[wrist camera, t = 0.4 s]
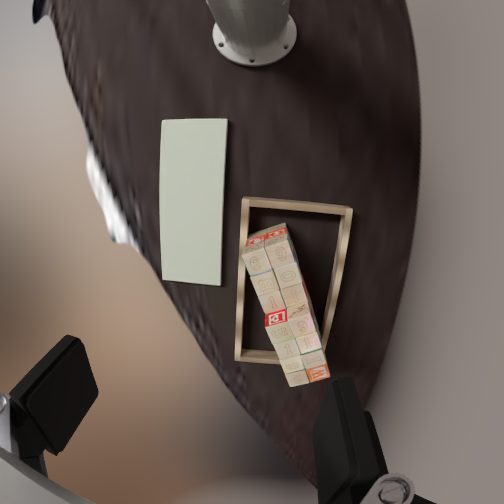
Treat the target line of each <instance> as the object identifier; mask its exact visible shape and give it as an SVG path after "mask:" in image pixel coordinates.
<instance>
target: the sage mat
mask: <svg viewBox="0 0 504 504" xmlns="http://www.w3.org/2000/svg"><path fill="white" fill-rule="evenodd" d="M227 129H228V119H176V120H162V130H161V150H160V240H161V261H162V277H163V280H171V281H180V282H189V283H199V284H209V285H219V286H220V285H221V269H222V233H223V206H224V183H225V164H226V146H227Z"/></svg>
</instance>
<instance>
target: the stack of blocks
mask: <svg viewBox="0 0 504 504" xmlns="http://www.w3.org/2000/svg"><path fill="white" fill-rule="evenodd" d="M242 258H243V261H244V263H245V265H246V268H247V270H248V273H249V275H250V279H251V281H252V283H253V286H254V288H255V291H256V293H257V295H258V298H259V301H260V303H261V305H262V308H263V310H264V312H265V314H266V315H265V328H266V331H267V333H268V335H269V337H270V340H271V342H272V344H273V345H274V348H275V350H276V352H277V354H278V357H279V361H280V363H281V366H282V368H283V370H284V373H285V376H286V378H287V381H288V383H289V385H290V387H293V386H298V385H302V384H306V383H309V382H314V381H317V380H321V379H324V378H328V377H330V373H329V370H328V366H327V361H326V356H325V352H324V349H323V346H322V342H321V341H322V340H321V336H320V332H319V328H318V324H317V320H316V317H315V313H314V310H313V306H312V303H311V299H310V296H309V292H308V290H307V288H306V285H305V282H304V279H303V275H302V274H301V270H300V267H299V263H298V258H297V255H296V252H295V248H294V245H293V242H292V240H291V237H290V234H289V231H288V228H287V225H286V223H283V224H280V225H276V226H273V227H270V228H268V229H264V230H261V231H258V232H255V233H252V234H250V235H248V239H247V241H246V245H245V248H244V249H243V252H242Z"/></svg>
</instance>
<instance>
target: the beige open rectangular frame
mask: <svg viewBox="0 0 504 504" xmlns="http://www.w3.org/2000/svg"><path fill="white" fill-rule="evenodd" d="M250 206H251V207H264V208H277V209H288V210H299V211H310V212H320V213H330V214H339V215H341V220H340V227H339V234H338V241H337V247H336V253H335V259H334V265H333V271H332V276H331V282H330V287H329V292H328V297H327V302H326V307H325V312H324V317H323V321H322V326H321V330H320V336H321V340H322V341H321V342H322V346H323V349H324V352H325V348H326V344H327V340H328V336H329V332H330V328H331V324H332V320H333V316H334V311H335V307H336V302H337V298H338V293H339V288H340V283H341V278H342V273H343V268H344V263H345V257H346V251H347V245H348V239H349V233H350V227H351V220H352V213H353V209H352V208H350V207H349V206H342V205H334V204H325V203H315V202H305V201H295V200H284V199H272V198H259V197H245V196H244V197H243V198H242V210H241V229H240V248H239V269H238V290H237V313H236V338H235V361H245V362H256V363H269V364H281V363H280V361H279V357H278V354H277V352H276V351H263V350H251V349H242V333H243V315H244V298H245V280H246V265H245V263H244V261H243V258H242V252H243V249H244V248H245V245H246V241H247V239H248V230H249V214H250Z"/></svg>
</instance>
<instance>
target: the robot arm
mask: <svg viewBox="0 0 504 504" xmlns="http://www.w3.org/2000/svg"><path fill="white" fill-rule="evenodd" d="M206 2H207V4H208V6H209V8H210V10H211V12H212V14H213V16H214V19H215V21H216V23H215V25H214V28H213V40H214V44H215V46H216V48H217V49H218V51H219V52H220V53H221V54H222V55H223V56H224V57H225V58H226V59H228V60H230V61H231V62H234V63H236V64H239V65H243V66H251V67H257V66H265V65H269V64H272V63H274V62H277V61H279V60H280V59H282V58H284V57H285V56H286V55H287V54H288V53H289V52H290V51H291V49H292V48H293V46H294V44H295V41H296V36H297V29H296V25H295V23H294V21H293V19H292V17H291V16H290V15H289V5H290V0H206ZM221 46H223V47H221ZM284 48H287V49H284ZM251 61H254V62H253V63H251ZM9 395H10V396H11V398H10V399H8V397H7V396H6V395H5V394H3V393H1V392H0V504H96V503H93V502H91V501H89V500H87V499H85V498H83V497H81V496H79V495H77V494H75V493H73V492H71V491H69V490H67V489H65V488H64V487H62V486H60V485H58V484H57V483H55V482H53V481H52V480H50V479H49V478H48V474H47V469H46V465H45V460H44V454H43V451H44V450H45V449H46V450H47V451H48V452H50V453H52V454H54V455H56V456H57V455H58V453H59V452H61V451H63V450H64V448H65V446H66V445H67V443H68V442H69V440H70V438H71V437H72V435H73V434H74V432H75V431H76V429H77V427H78V426H79V424H80V422H81V421H82V419H83V418H84V416H85V415H86V413H87V412H88V410H89V408H90V407H91V406H92V404H93V403H94V401H95V400H96V398H97V396H98V388H97V385H96V382H95V379H94V376H93V373H92V370H91V367H90V364H89V360H88V357H87V354H86V351H85V347H84V345H83V343H82V342H81V340H80V339H79V338H77V337H73V336H71V335H66V336H64V337H63V338H62V339H61V340H60V341H59V342H58V343H57V344H56V345H55V346H54V347H53V348H52V349H51V350H50V351H49V352H48V353H47V354H46V355H45V356H44V357H43V358H42V359H41V360H40V361H39V362H38V363H37V364H36V365H35V366H34V367H33V368H32V369H31V370H30V371H29V372H28V373H27V375H25V377H24V378H23V379H22V380H21V381H20V382H19V383H18V384H17V385H16V386H15V387H14V388H13V389H12V391H11V392H10V393H9ZM312 434H313V444H314V455H315V465H316V477H317V489H318V502H319V504H436V503H433V502H431V501H429V500H426V499H424V498H422V497H420V496H418V495H416V494H414V493H415V491H414V485H413V483H412V481H411V480H410V479H409V478H408V477H406V476H404V475H402V474H398V473H390V474H389V473H388V470H387V466H386V462H385V459H384V456H383V452H382V448H381V445H380V441H379V438H378V435H377V432H376V429H375V425H374V422H373V419H372V416H371V414H370V412H368V411H363V410H362V407H361V403H360V400H359V397H358V393H357V390H356V387H355V384H354V381H353V379H352V378H335V380H334V382H330V383H329V385H328V388H327V391H326V394H325V396H324V399H323V402H322V405H321V407H320V410H319V412H318V415H317V418H316V420H315V423H314V425H313V431H312Z"/></svg>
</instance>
